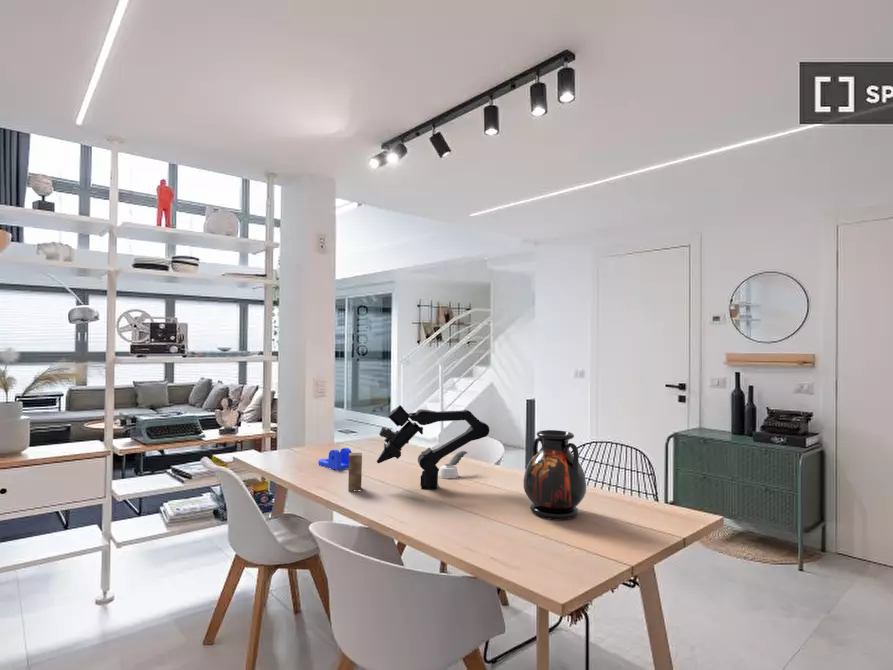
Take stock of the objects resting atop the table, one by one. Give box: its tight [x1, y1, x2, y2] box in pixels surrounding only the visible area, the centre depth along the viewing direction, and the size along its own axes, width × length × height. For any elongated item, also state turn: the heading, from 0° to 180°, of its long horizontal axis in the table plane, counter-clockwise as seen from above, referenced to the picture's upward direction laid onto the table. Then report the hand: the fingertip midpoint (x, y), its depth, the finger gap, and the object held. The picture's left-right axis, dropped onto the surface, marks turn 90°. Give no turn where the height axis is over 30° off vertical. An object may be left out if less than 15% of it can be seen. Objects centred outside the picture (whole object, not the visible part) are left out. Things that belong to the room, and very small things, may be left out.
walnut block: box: [347, 452, 363, 492], centre depth 207 cm, size 5×5×14 cm
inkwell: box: [438, 450, 468, 479], centre depth 234 cm, size 9×18×10 cm, turn 141°
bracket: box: [317, 447, 353, 471], centre depth 247 cm, size 18×8×9 cm, turn 47°
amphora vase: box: [522, 429, 587, 520], centre depth 182 cm, size 22×22×28 cm
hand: (377, 462), depth 209 cm, fingers closed
